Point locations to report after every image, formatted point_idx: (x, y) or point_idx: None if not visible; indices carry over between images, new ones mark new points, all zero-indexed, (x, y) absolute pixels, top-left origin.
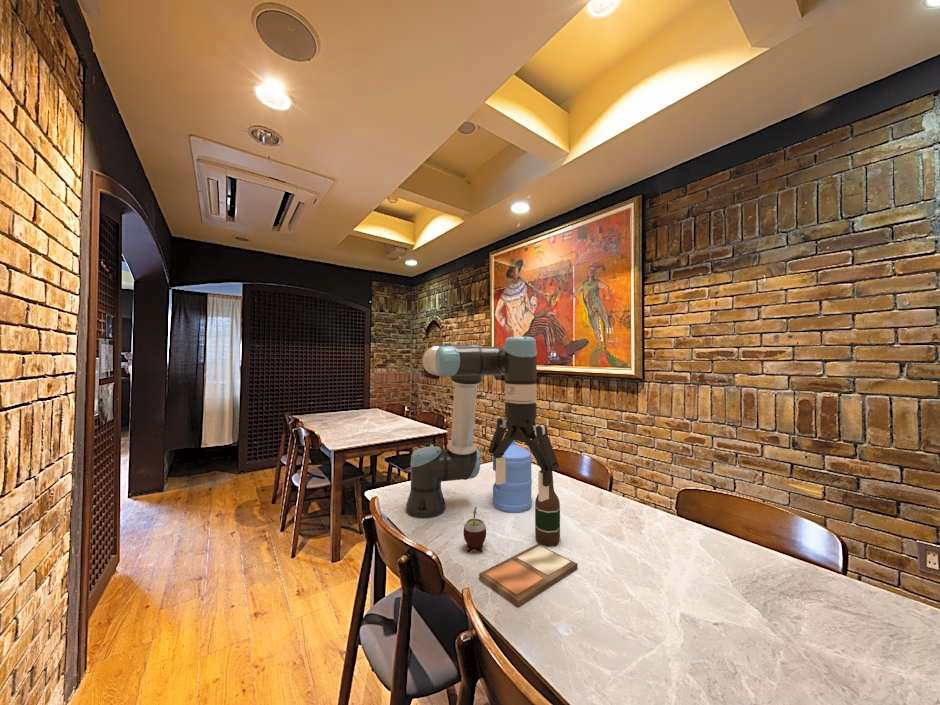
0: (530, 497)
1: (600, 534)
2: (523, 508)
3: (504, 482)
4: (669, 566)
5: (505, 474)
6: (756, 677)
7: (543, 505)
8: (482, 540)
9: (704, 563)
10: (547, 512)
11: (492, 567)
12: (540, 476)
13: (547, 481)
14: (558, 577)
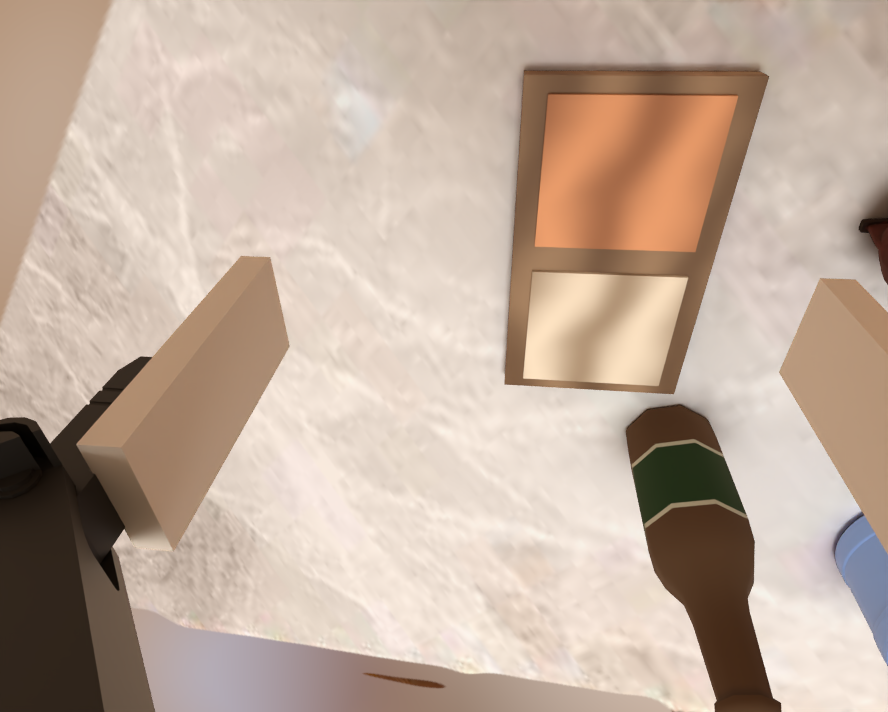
0: (852, 588)
1: (553, 539)
2: (852, 534)
3: (787, 363)
4: (355, 512)
5: (814, 428)
6: (57, 311)
7: (698, 524)
8: (883, 246)
9: (318, 556)
10: (672, 504)
11: (740, 157)
12: (124, 402)
13: (98, 395)
14: (510, 293)
